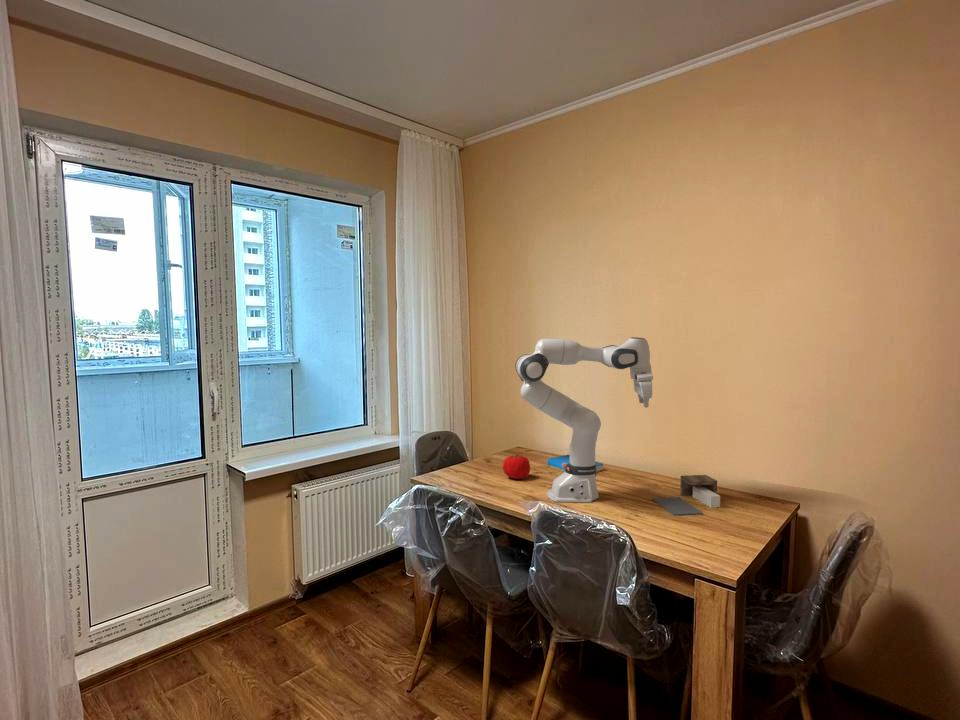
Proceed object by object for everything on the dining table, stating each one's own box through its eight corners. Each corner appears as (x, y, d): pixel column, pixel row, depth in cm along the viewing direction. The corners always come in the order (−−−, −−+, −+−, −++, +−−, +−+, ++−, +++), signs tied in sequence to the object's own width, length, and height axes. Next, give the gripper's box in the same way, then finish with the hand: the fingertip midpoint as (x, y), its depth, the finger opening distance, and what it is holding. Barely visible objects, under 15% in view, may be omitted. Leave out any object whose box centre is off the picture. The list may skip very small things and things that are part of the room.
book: (570, 454, 279) (603, 463, 258) (570, 461, 279) (603, 471, 258) (546, 458, 269) (580, 468, 248) (546, 466, 269) (580, 476, 248)
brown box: (691, 501, 209) (691, 481, 209) (680, 494, 218) (680, 475, 218) (716, 500, 210) (717, 480, 210) (705, 493, 219) (705, 474, 219)
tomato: (531, 481, 239) (530, 458, 239) (503, 481, 239) (503, 458, 239) (529, 474, 251) (528, 451, 251) (502, 474, 252) (502, 452, 251)
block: (710, 508, 202) (710, 496, 201) (692, 497, 216) (692, 485, 215) (720, 508, 202) (720, 496, 202) (701, 496, 216) (701, 485, 216)
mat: (673, 515, 193) (673, 514, 193) (652, 499, 212) (652, 498, 212) (703, 514, 195) (703, 512, 195) (678, 498, 213) (678, 497, 213)
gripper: (629, 371, 227) (631, 401, 228) (638, 377, 207) (641, 410, 208) (643, 370, 226) (645, 399, 228) (653, 376, 206) (656, 408, 207)
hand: (643, 405), depth 218 cm, fingers open, 8 cm apart
